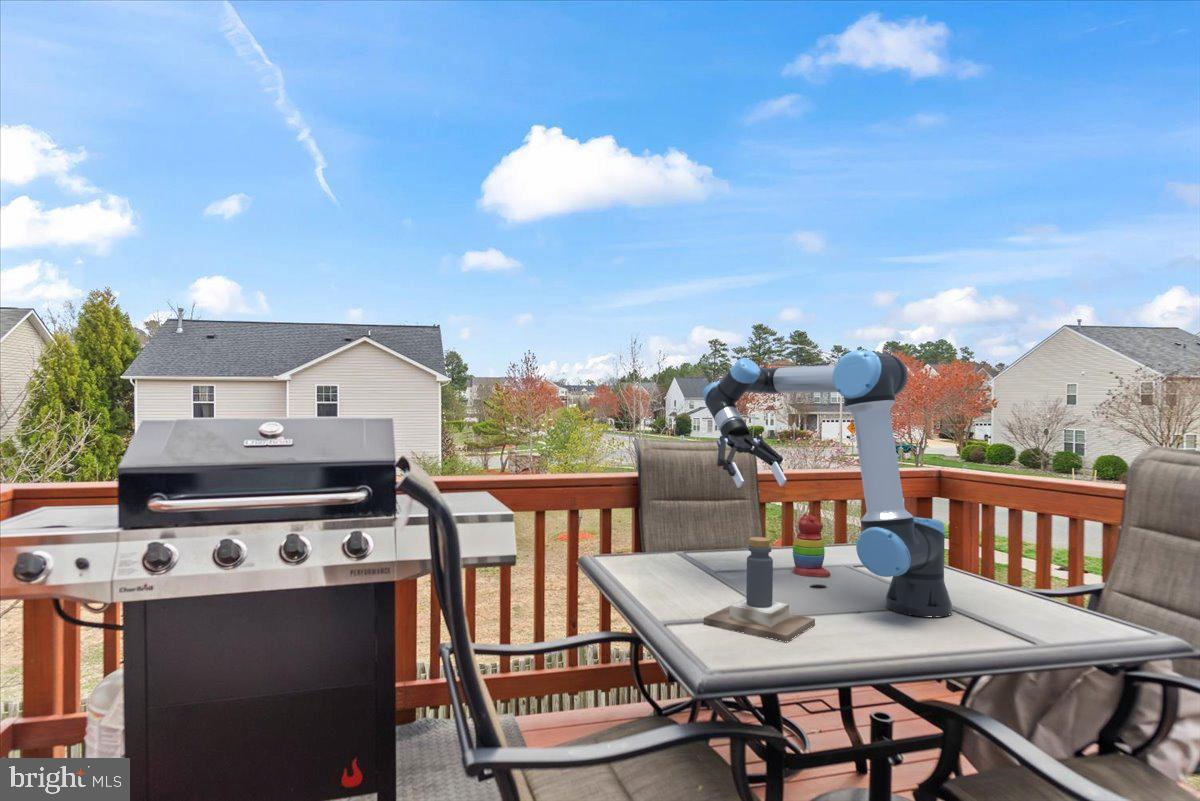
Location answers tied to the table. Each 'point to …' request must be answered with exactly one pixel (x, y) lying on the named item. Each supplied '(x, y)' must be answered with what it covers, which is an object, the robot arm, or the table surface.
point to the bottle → (759, 574)
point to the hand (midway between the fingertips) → (762, 483)
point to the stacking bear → (809, 548)
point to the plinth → (761, 630)
